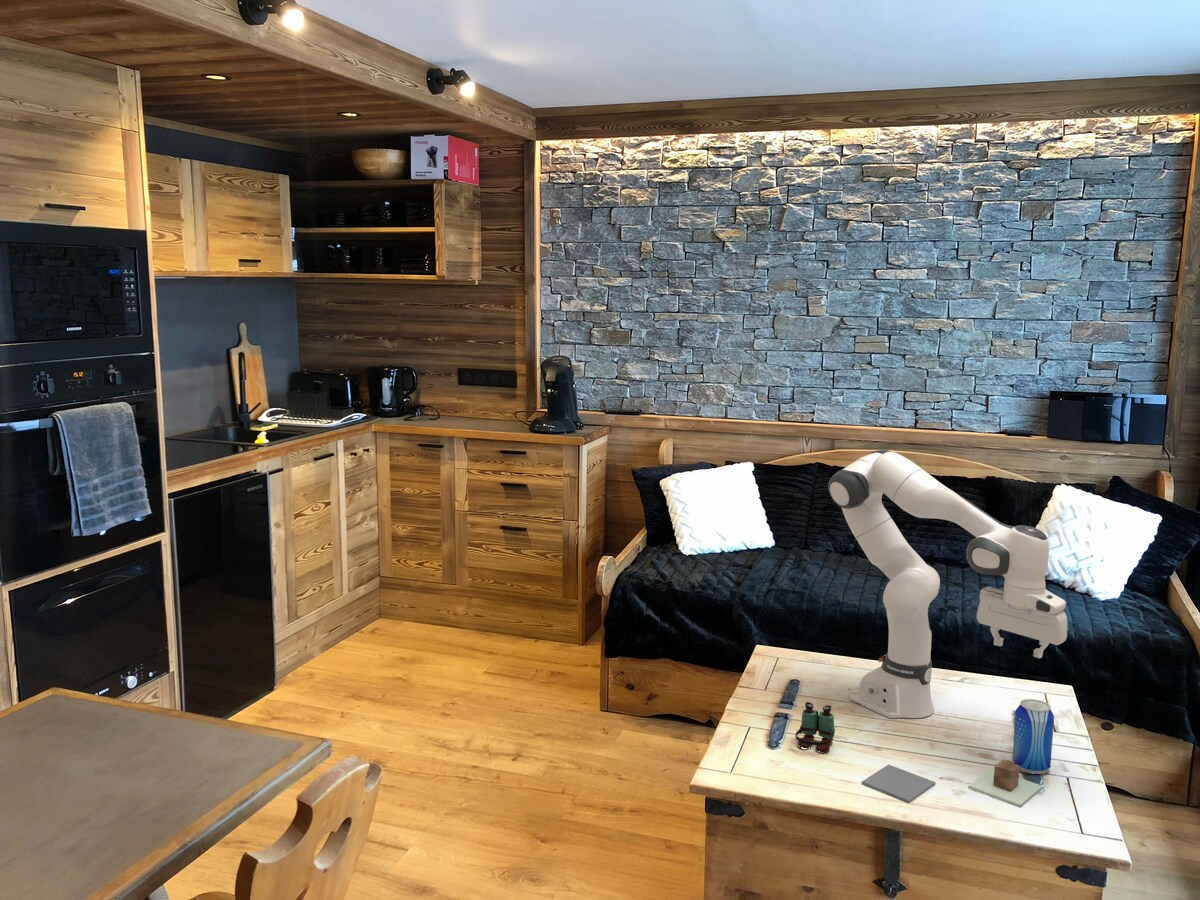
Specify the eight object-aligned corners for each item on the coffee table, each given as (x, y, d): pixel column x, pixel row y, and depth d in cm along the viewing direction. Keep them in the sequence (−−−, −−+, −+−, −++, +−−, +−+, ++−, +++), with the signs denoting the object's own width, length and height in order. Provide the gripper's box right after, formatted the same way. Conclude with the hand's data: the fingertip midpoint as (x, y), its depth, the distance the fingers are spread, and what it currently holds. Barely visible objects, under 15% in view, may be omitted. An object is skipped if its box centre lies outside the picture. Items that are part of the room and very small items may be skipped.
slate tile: (861, 783, 225) (861, 781, 225) (888, 766, 233) (888, 764, 233) (909, 803, 216) (909, 800, 216) (935, 784, 224) (935, 782, 224)
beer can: (1054, 778, 227) (1059, 713, 225) (1016, 774, 229) (1020, 710, 226) (1045, 761, 235) (1049, 698, 233) (1008, 758, 237) (1012, 696, 234)
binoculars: (793, 716, 238) (802, 697, 247) (793, 754, 241) (802, 734, 250) (829, 722, 235) (838, 703, 243) (829, 761, 237) (837, 740, 246)
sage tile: (968, 787, 223) (968, 785, 223) (991, 770, 231) (991, 767, 231) (1020, 807, 214) (1020, 804, 214) (1042, 788, 222) (1042, 786, 222)
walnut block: (993, 785, 223) (994, 765, 222) (1000, 779, 225) (1002, 759, 224) (1010, 791, 220) (1011, 771, 219) (1018, 785, 222) (1019, 765, 222)
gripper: (974, 587, 233) (969, 641, 235) (1062, 609, 218) (1055, 667, 220) (986, 581, 237) (981, 635, 239) (1073, 603, 222) (1066, 660, 225)
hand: (1017, 651), depth 230 cm, fingers open, 8 cm apart
